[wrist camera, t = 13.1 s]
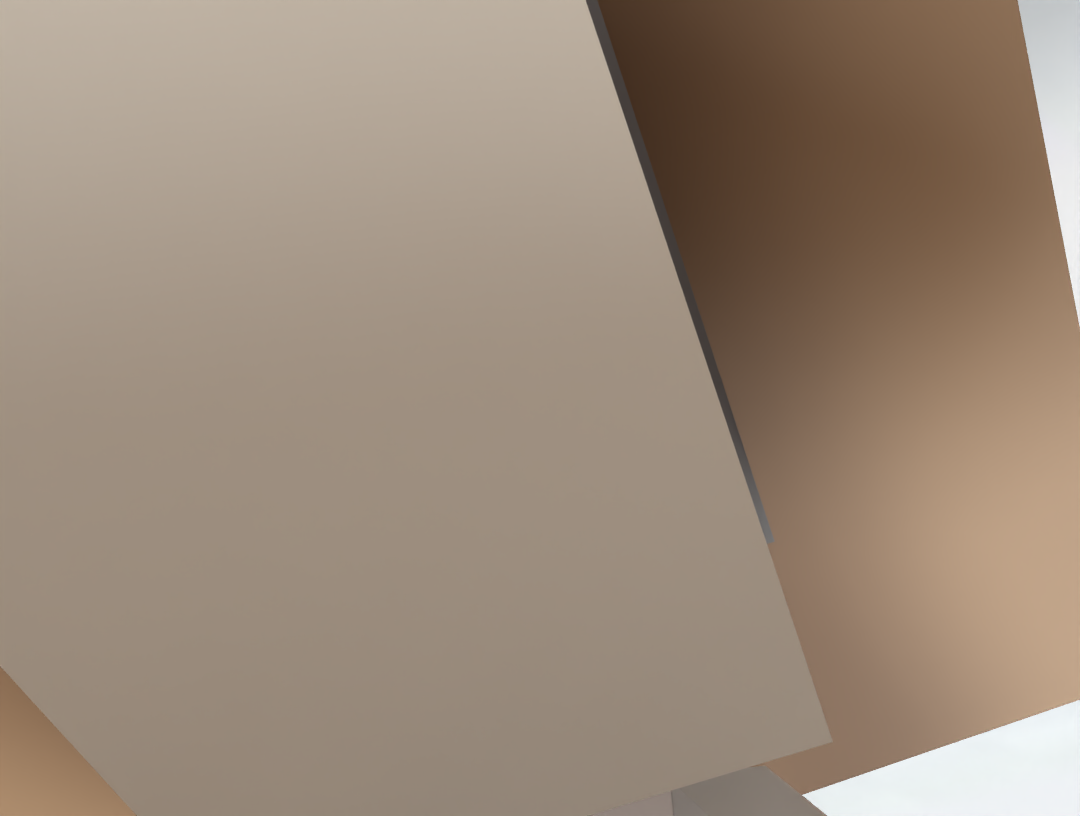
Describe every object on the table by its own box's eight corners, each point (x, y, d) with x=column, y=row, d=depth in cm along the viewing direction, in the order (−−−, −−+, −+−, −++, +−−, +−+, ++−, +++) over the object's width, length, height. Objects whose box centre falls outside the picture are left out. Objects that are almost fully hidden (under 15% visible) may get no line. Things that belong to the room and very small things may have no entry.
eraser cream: (300, 621, 10) (223, 944, 7) (-497, -557, 6) (-1665, -1066, 3) (743, 468, 10) (866, 752, 7) (254, -998, 5) (-104, -2382, 2)
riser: (-87, 903, 18) (-218, 1144, 15) (-901, 288, 12) (-1467, 461, 8) (991, 490, 15) (1145, 677, 12) (682, -672, 9) (821, -1035, 5)
